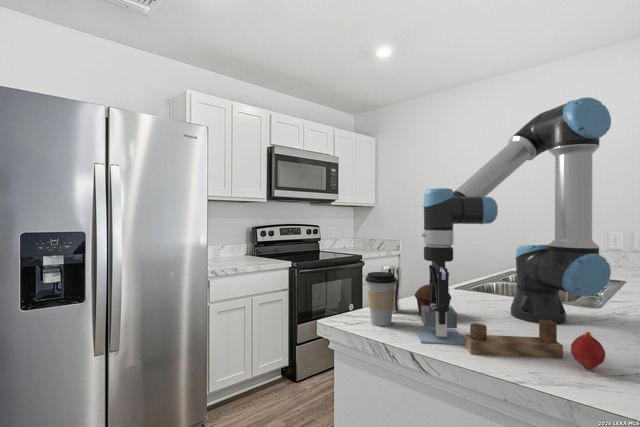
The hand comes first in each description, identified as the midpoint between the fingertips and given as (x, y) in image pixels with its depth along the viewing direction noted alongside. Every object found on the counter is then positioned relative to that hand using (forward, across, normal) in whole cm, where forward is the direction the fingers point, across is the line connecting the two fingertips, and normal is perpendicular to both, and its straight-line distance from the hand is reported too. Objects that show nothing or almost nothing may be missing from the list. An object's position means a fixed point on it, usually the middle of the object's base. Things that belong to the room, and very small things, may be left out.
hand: (438, 331), depth 95 cm
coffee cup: (+2, -10, -15) cm, 18 cm away
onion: (+1, +17, +27) cm, 32 cm away
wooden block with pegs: (+1, +9, +15) cm, 18 cm away
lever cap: (-2, 0, 0) cm, 2 cm away
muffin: (+2, -20, +2) cm, 20 cm away
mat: (+1, 0, 0) cm, 1 cm away
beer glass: (+2, -25, -11) cm, 27 cm away
